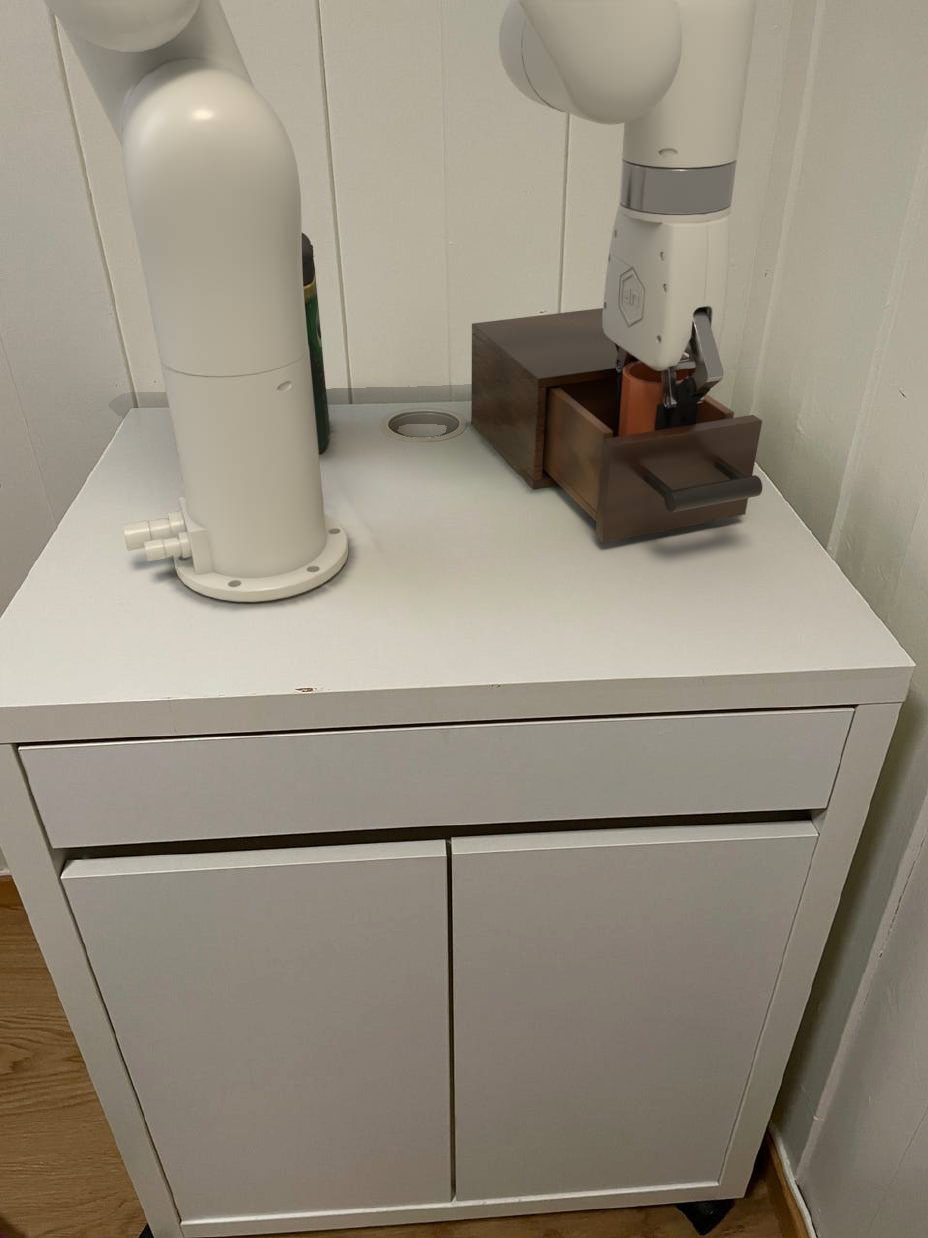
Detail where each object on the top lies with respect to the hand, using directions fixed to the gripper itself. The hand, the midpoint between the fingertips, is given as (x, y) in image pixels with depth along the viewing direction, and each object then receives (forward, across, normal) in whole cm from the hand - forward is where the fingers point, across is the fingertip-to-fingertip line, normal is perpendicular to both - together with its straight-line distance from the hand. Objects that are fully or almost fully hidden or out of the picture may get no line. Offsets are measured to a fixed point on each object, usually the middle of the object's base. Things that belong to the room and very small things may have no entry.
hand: (652, 434), depth 76 cm
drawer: (+5, +2, -1) cm, 5 cm away
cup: (+1, 0, 0) cm, 1 cm away
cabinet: (+6, -12, -1) cm, 14 cm away
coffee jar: (+5, -22, -25) cm, 34 cm away
